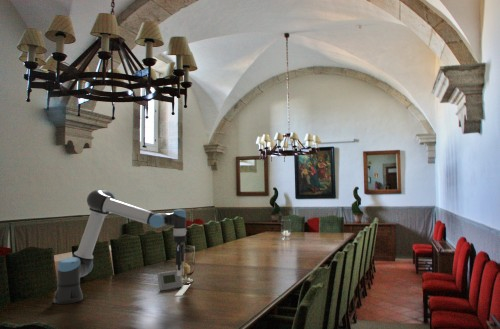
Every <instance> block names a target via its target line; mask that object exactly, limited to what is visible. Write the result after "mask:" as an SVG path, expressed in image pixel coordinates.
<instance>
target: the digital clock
mask: <svg viewBox="0 0 500 329" xmlns="http://www.w3.org/2000/svg"><path fill="white" fill-rule="evenodd" d="M156 275H157V281H158V282H157V283H158V288H159V291H169V290H175V289H179V288H180V289H181V288H182V287H183V285H184V284H183V280H182V276H176V270H169V271H163V272H158V273H157V274H156Z"/></svg>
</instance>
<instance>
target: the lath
mask: <svg viewBox="0 0 500 329" xmlns="http://www.w3.org/2000/svg"><path fill="white" fill-rule="evenodd" d="M182 285H183V286H182V287H180V289H179V290H178V291H177V292H176V294H175V295H174V297H182V296H184V294H185V293H186V291H188V289H189V287H191V285H192V284H189V285H184V284H182Z"/></svg>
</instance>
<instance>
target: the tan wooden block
mask: <svg viewBox="0 0 500 329" xmlns="http://www.w3.org/2000/svg"><path fill="white" fill-rule="evenodd" d="M184 261H185V260H184ZM184 261H181V264H182V276H181V277H183V276H184V275H185V262H184ZM175 271H176V276H177V265H176V264H175Z"/></svg>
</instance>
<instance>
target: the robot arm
mask: <svg viewBox="0 0 500 329" xmlns="http://www.w3.org/2000/svg"><path fill="white" fill-rule="evenodd" d="M86 202H87V205H88V207H89V209H88V210H89V211H90V212H89V213H90V214H89V217H88V220H87V223H86V226H85V229H84V232H83V234H82V237H81V240H80V243H79V245H78V249H77V250H76V251H74V252H73V255H72V256H70V257H65V258H62V259H60V260H59V261H58V262H57V289H56V291H55V295H54V296H53V303H54V304H56V303H57V305H58V304H59V305H66V304H67V305H68V304H74V303H78V302H81V301H83V300H84V294H83V292H82V289H81V278H82V277H85V276H87V275H88V274H89V273H91V272H92V270H93V268H94V255H93V253H94V251H95V250H94V249H95V246H96V244H97V241H98V238H99V235H100V233H101V229H102V227H103V224H104V220H105V219H106V216H108V215H109V214H110V213H112V214H115V215H118V216H121V217H124V218H126V219H130V220H133V221H137V222H140V223H142V224H146V225H148V226H151V227H152V228H154V229H155V228H156V229H158V228H162V227H166V226H167V227H168V226H172V227H173V243H176V247H175V266H176V265H177V276H181V277H183V276H182V264H181V261H184V263H185V257H184V256H185V245H184V243H186V242H187V232H188V230H187V211H186V210H185V209H173V212H167V213H166V212H165V213H164V212H163V213H160V212H159V213H157V212H154V211H150V210H149V209H144V208H142V207H138V206H135V205H133V204H130V203H126V202H123V201H121V200H116V197H115V195H114V193H112V192H111V191H109V190H106V189H102V190H100V189H99V190H97V189H96V190H93V191H91V192H90V193H89V194H88V195H87V198H86Z"/></svg>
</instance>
